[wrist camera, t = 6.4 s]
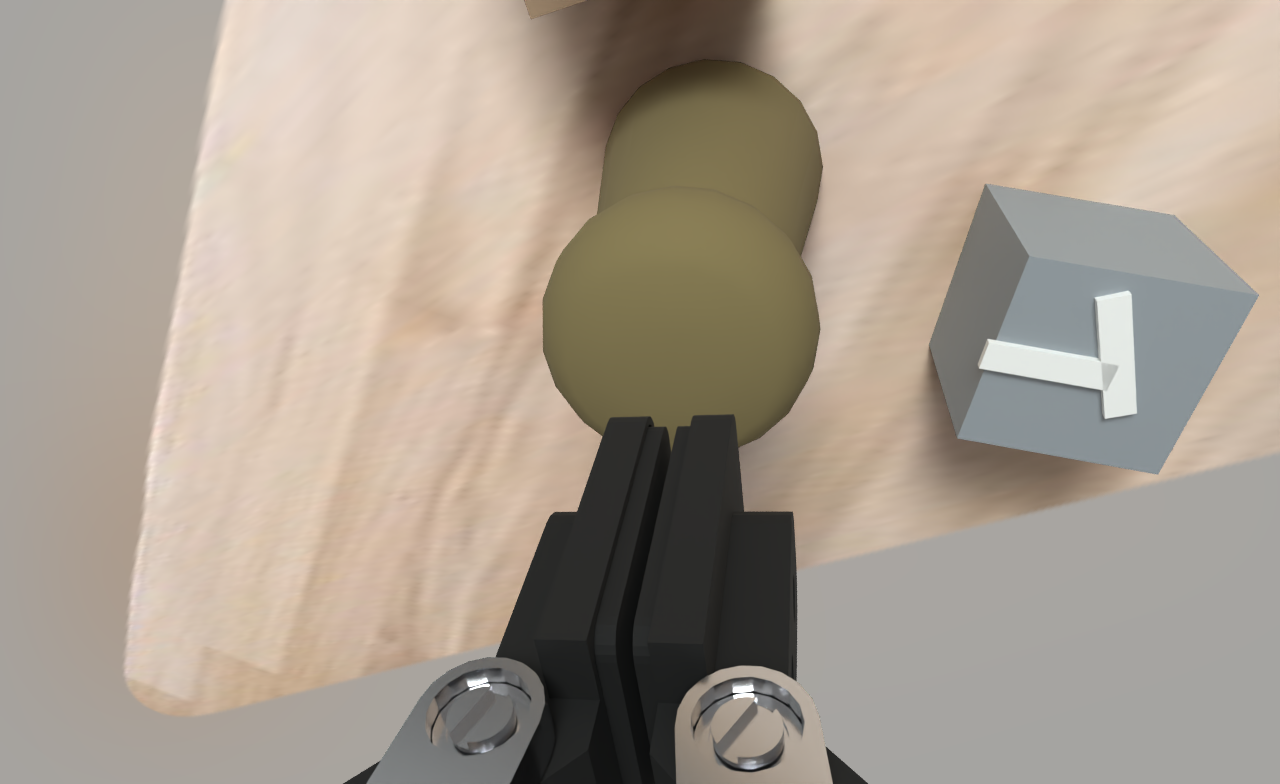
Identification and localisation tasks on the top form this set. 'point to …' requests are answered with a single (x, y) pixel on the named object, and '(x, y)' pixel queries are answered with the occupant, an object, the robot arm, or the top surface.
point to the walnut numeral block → (547, 6)
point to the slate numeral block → (1082, 328)
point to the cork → (693, 258)
